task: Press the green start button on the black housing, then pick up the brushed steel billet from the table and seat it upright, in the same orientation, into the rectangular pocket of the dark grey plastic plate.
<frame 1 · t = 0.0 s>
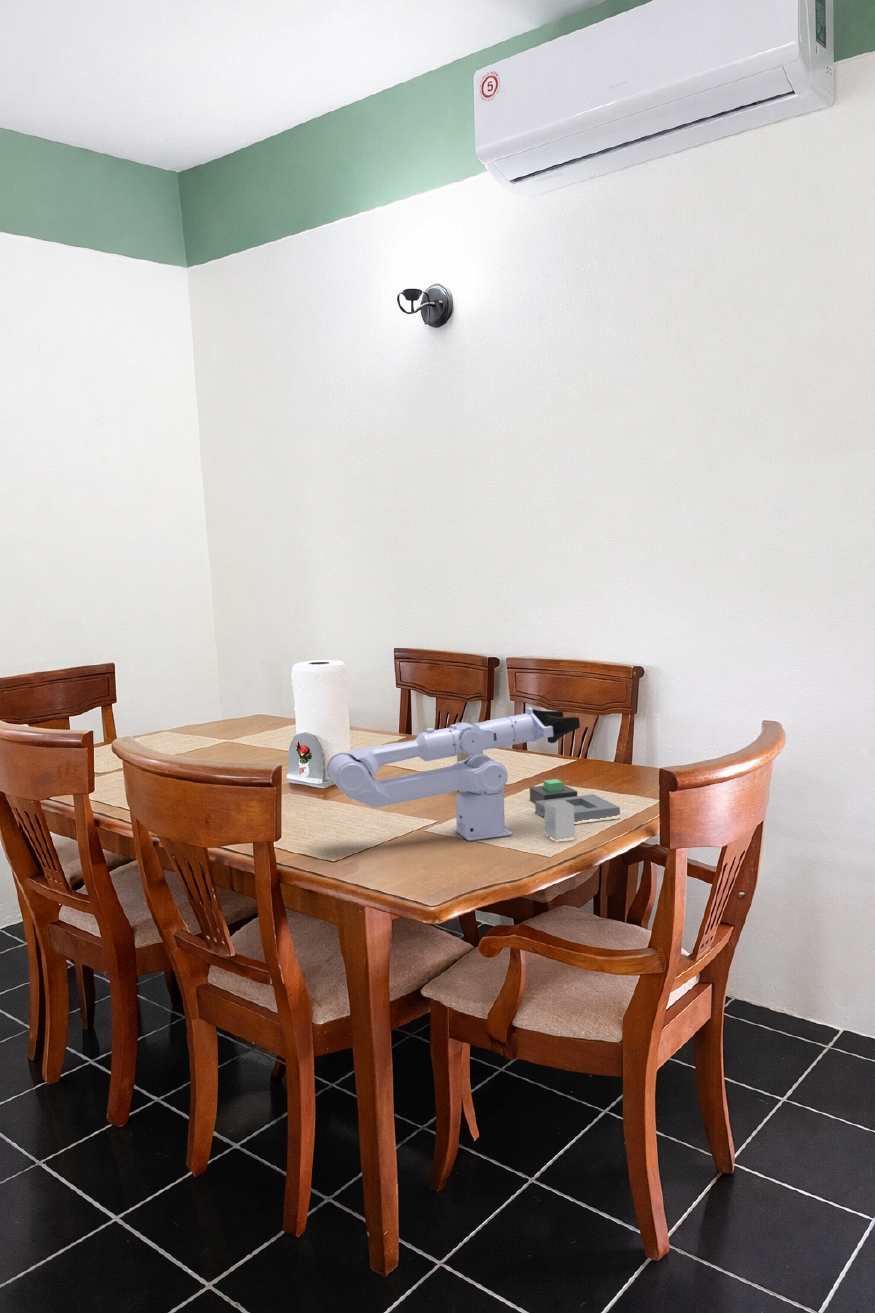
hand: (570, 719, 205), 22 cm above the table, tool horizontal, fingers open, 7 cm apart
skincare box: (470, 793, 235), on the table
button housing: (553, 802, 224), on the table
start button: (553, 785, 223), point 4 cm above the table, slide at 0.0 cm
billet: (559, 838, 197), on the table
pocket plate: (576, 815, 212), on the table
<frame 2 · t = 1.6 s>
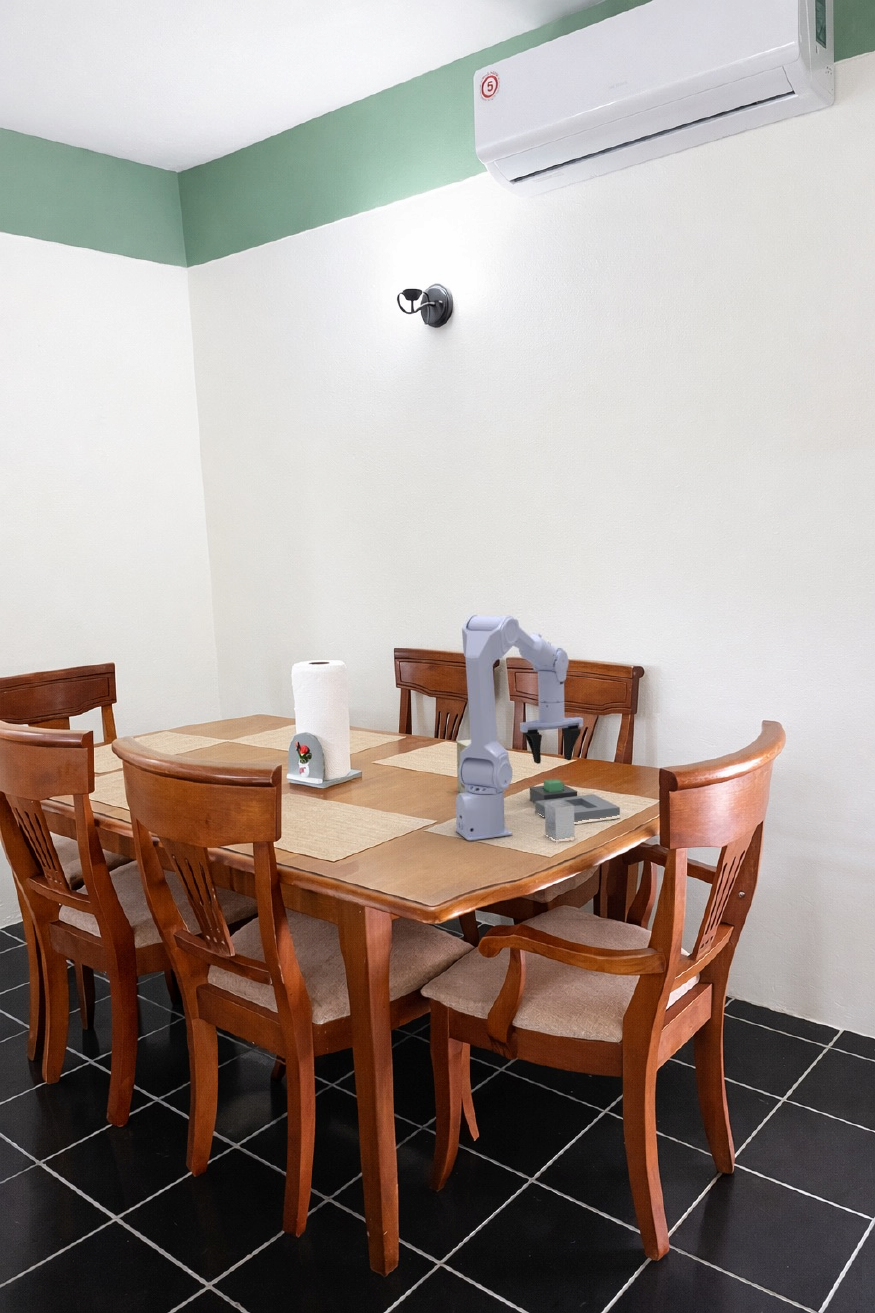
hand: (552, 761, 223), 9 cm above the table, tool pointing down, fingers open, 7 cm apart
nothing on the table moved.
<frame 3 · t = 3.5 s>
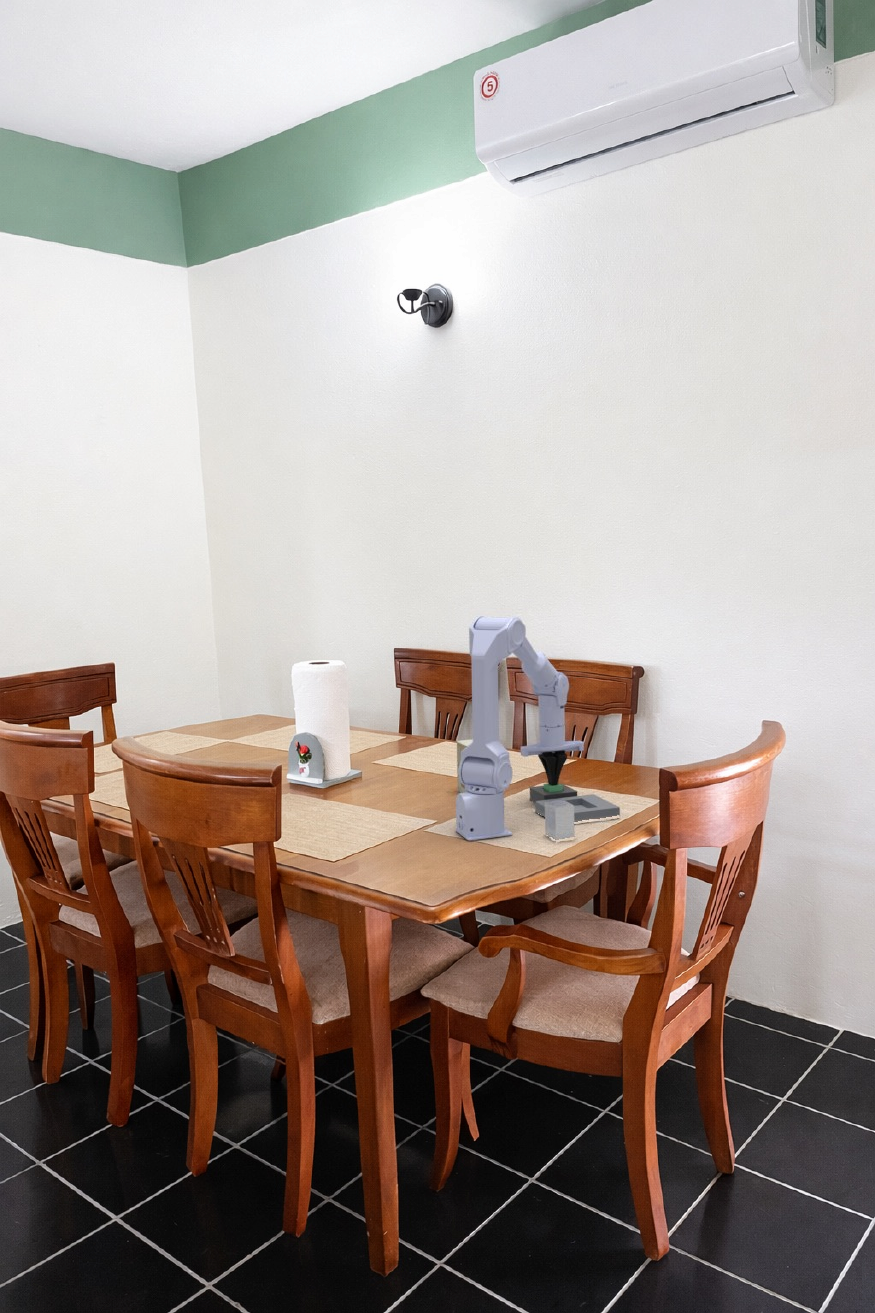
hand: (553, 784, 223), 4 cm above the table, tool pointing down, fingers closed, pressing on start button
start button: (553, 788, 223), point 3 cm above the table, slide at 0.7 cm, touching gripper
everything else where it was.
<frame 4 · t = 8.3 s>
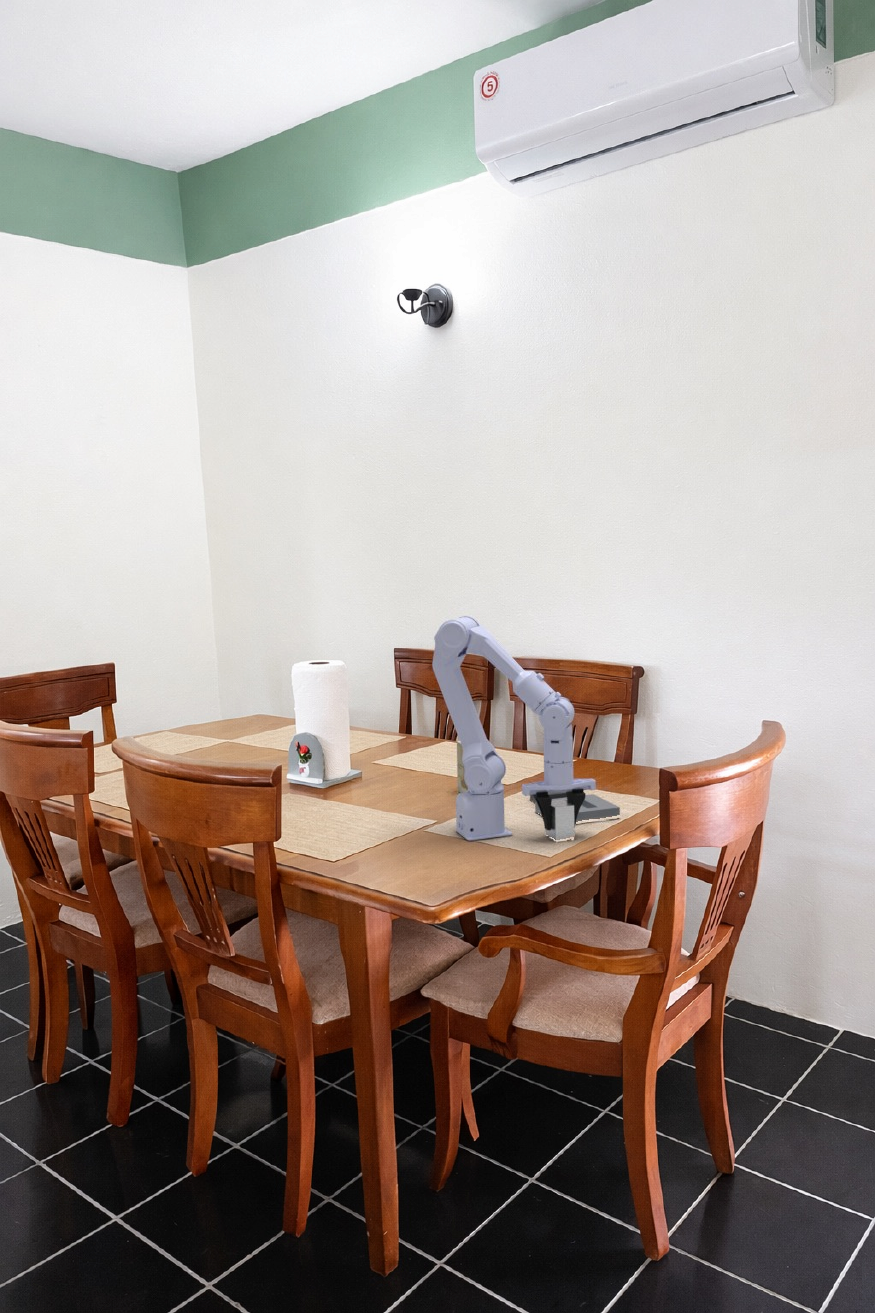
hand: (559, 828, 197), 2 cm above the table, tool pointing down, fingers closed on billet, 4 cm apart
start button: (553, 790, 223), point 3 cm above the table, slide at 1.1 cm
billet: (559, 838, 197), on the table, touching gripper
everything else where it was.
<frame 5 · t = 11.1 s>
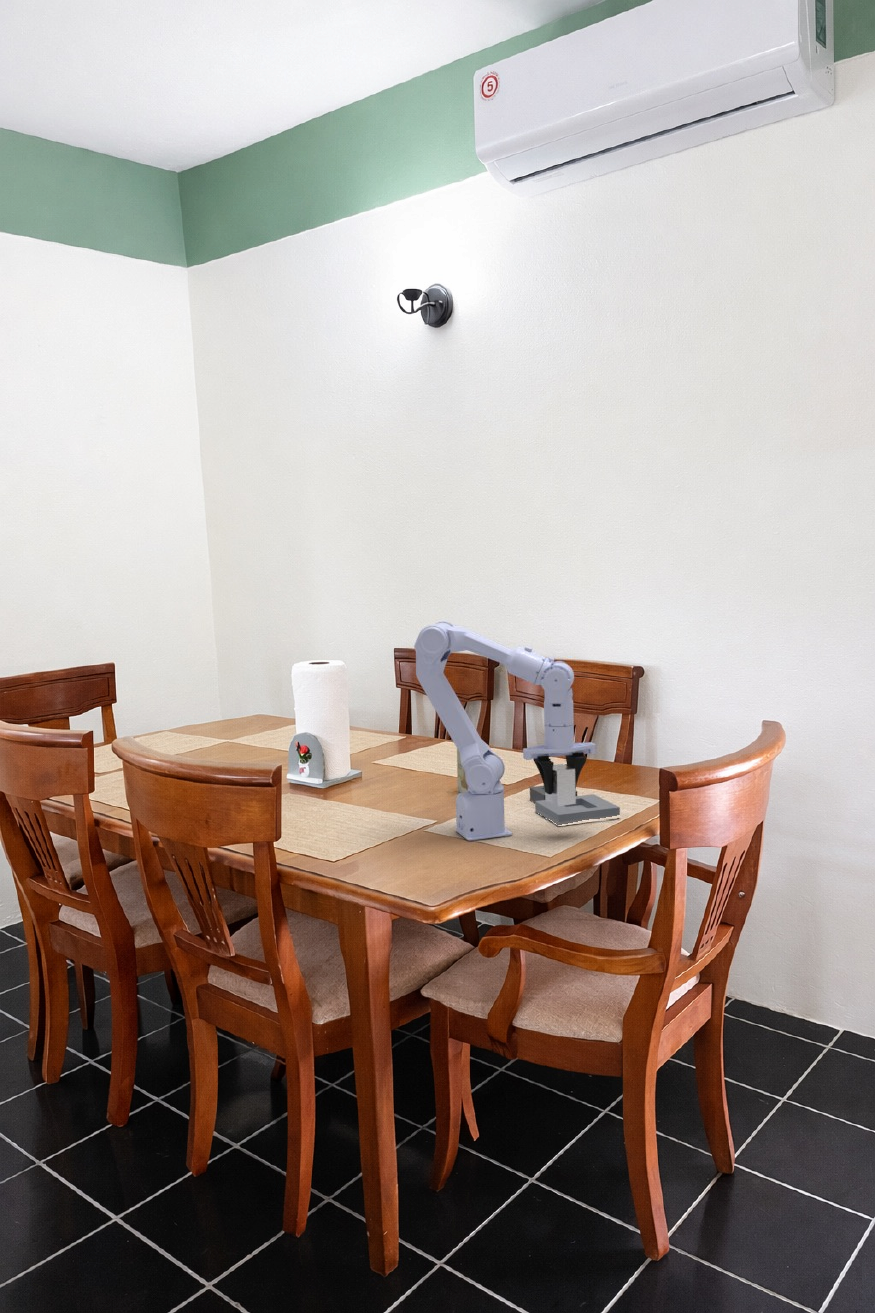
hand: (560, 792, 197), 9 cm above the table, tool pointing down, fingers closed on billet, 4 cm apart
billet: (560, 802, 197), point 7 cm above the table, touching gripper
everything else where it was.
when the fingers open (4 cm above the table, at t = 13.9 s): billet drops 1 cm, resting on pocket plate.
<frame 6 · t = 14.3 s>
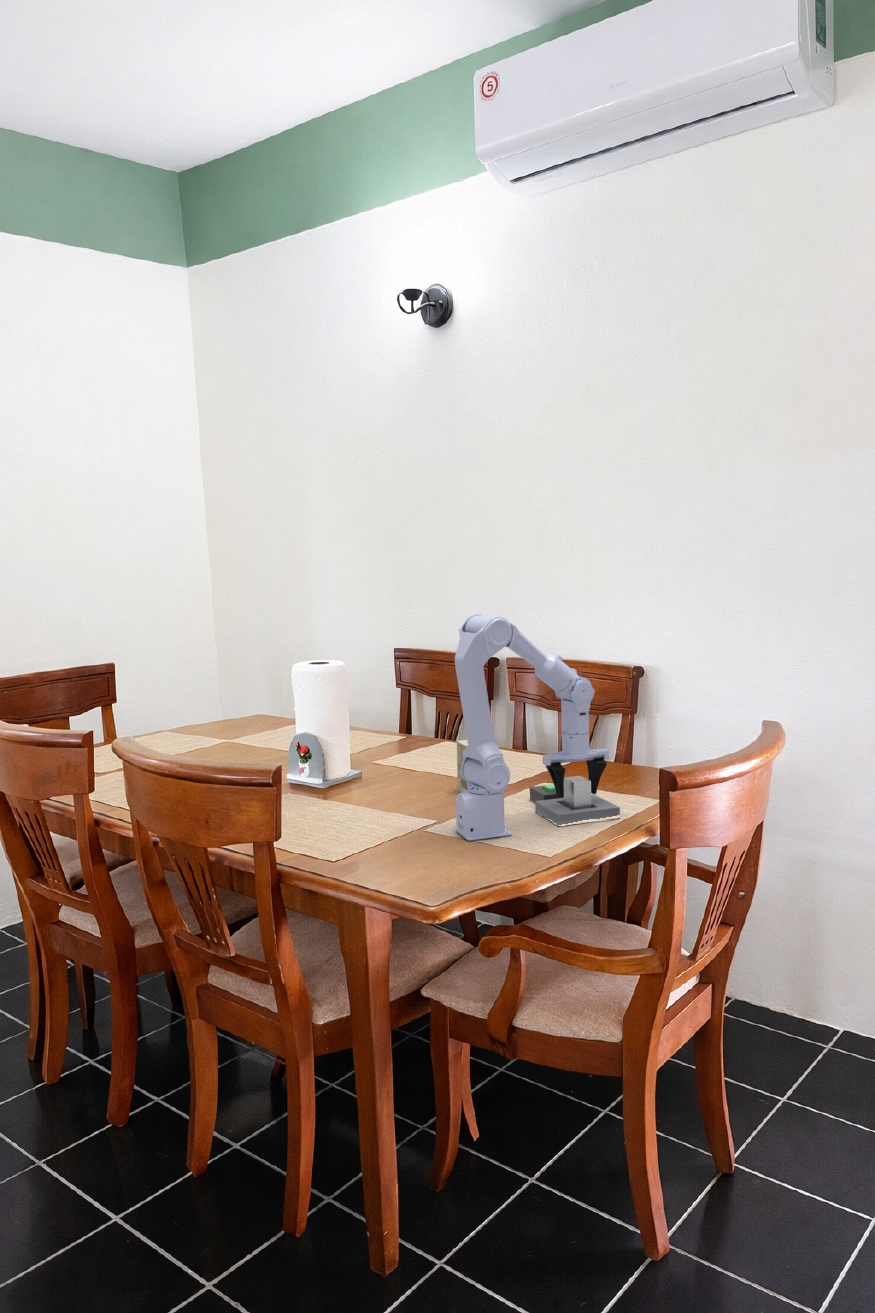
hand: (576, 795, 212), 4 cm above the table, tool pointing down, fingers open, 7 cm apart
billet: (577, 811, 212), point 1 cm above the table, touching pocket plate
everything else where it was.
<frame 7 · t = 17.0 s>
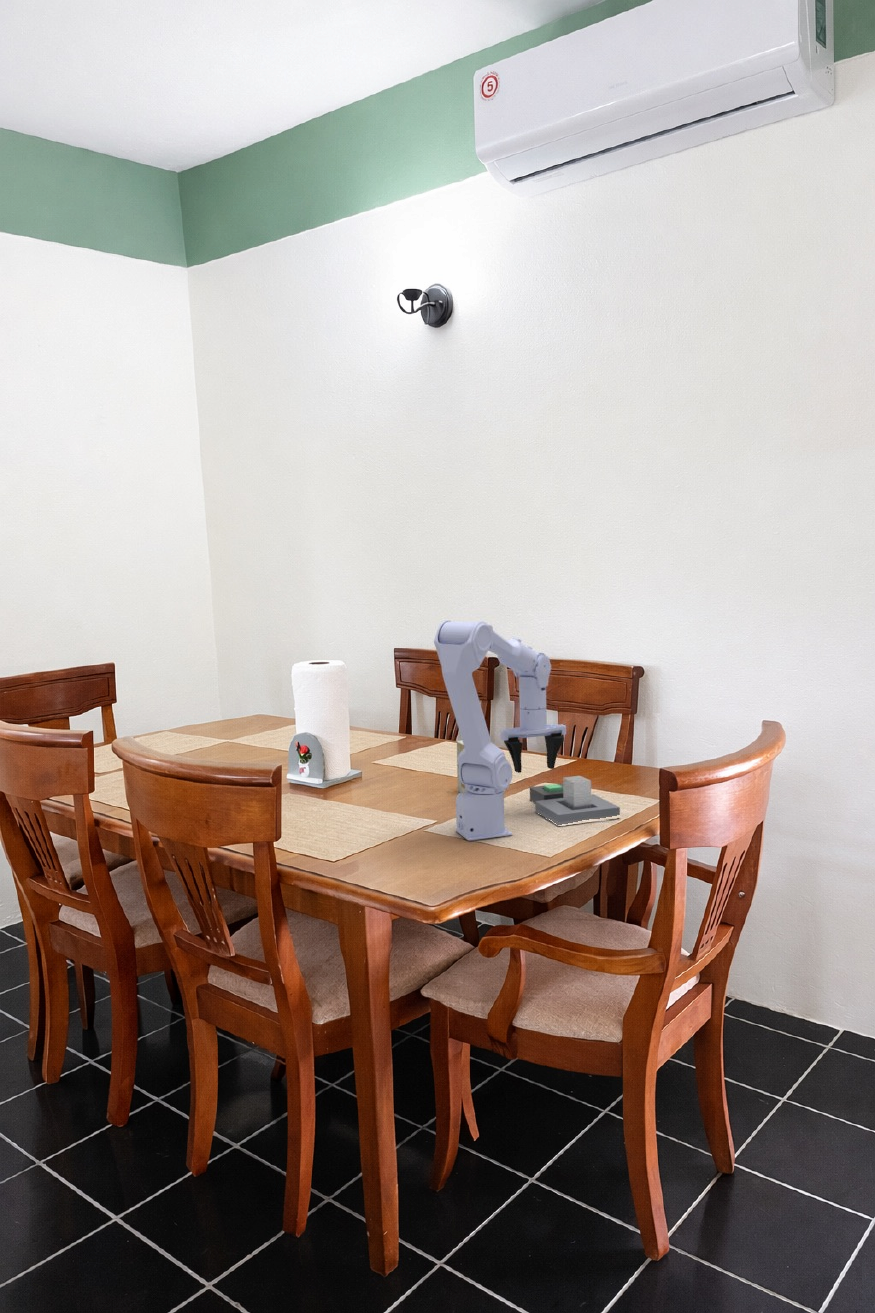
hand: (534, 770, 215), 9 cm above the table, tool pointing down, fingers open, 7 cm apart
nothing on the table moved.
at the end: start button slide at 1.1 cm; billet 0.2 cm off-centre on the pocket plate, point 1.0 cm above the pocket plate's base; billet tilted 0° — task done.
